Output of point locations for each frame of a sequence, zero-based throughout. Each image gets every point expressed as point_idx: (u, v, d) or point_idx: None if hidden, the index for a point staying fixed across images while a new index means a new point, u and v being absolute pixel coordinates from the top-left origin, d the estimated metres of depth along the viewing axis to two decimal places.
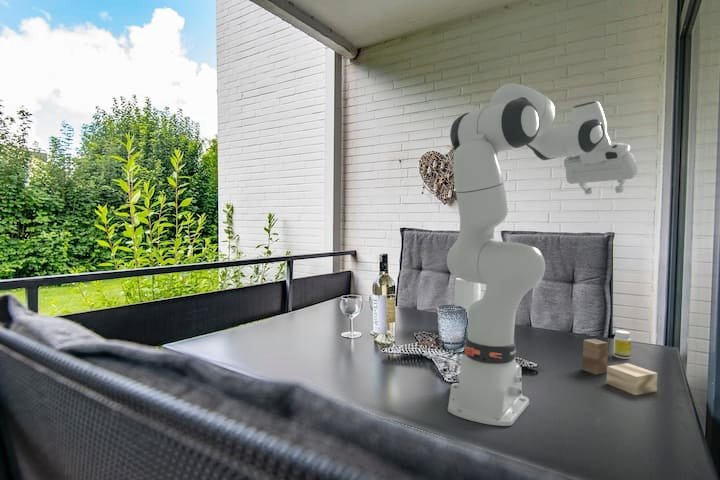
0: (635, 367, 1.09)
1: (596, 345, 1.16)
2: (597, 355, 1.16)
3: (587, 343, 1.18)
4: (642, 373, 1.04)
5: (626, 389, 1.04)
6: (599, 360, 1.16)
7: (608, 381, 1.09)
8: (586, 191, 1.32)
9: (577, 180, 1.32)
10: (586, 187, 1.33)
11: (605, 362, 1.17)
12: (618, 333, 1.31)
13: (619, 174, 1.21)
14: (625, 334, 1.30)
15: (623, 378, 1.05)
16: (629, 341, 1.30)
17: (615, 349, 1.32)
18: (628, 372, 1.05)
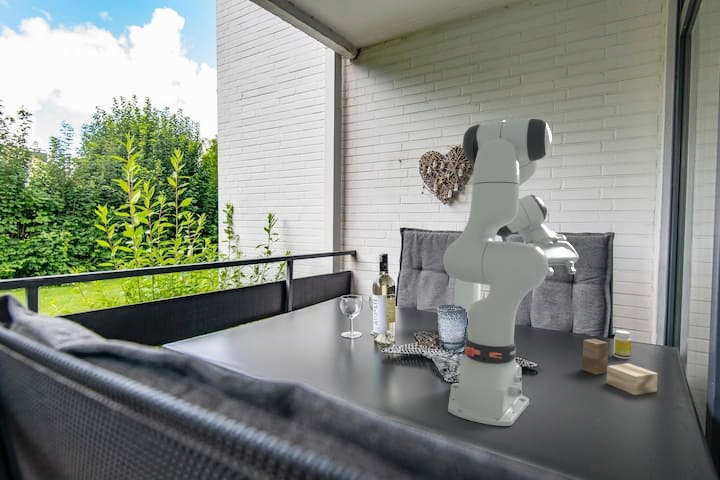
0: (635, 367, 1.09)
1: (596, 345, 1.16)
2: (597, 355, 1.16)
3: (587, 343, 1.18)
4: (642, 373, 1.04)
5: (625, 389, 1.04)
6: (599, 360, 1.16)
7: (608, 381, 1.09)
8: (550, 269, 1.27)
9: None
10: None
11: (605, 362, 1.17)
12: (618, 333, 1.31)
13: (569, 254, 1.34)
14: (625, 334, 1.30)
15: (623, 378, 1.05)
16: (629, 341, 1.30)
17: (615, 349, 1.32)
18: (628, 372, 1.05)
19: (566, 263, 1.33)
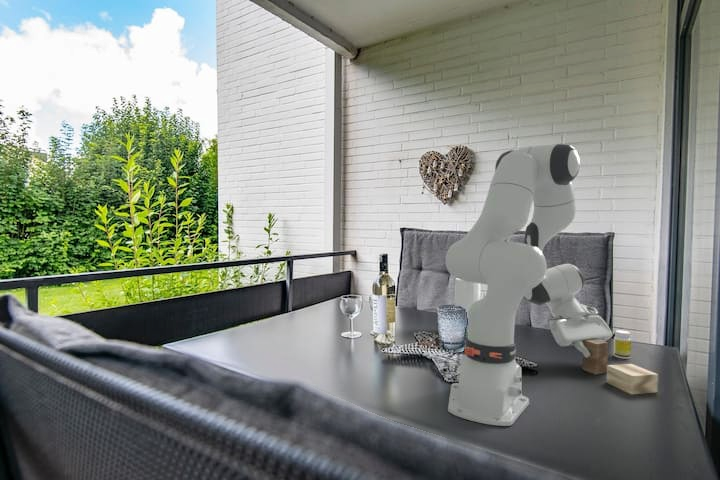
0: (637, 367, 1.08)
1: (596, 345, 1.16)
2: (597, 355, 1.16)
3: (587, 343, 1.18)
4: (641, 374, 1.04)
5: (623, 388, 1.05)
6: (599, 360, 1.16)
7: (607, 380, 1.10)
8: (588, 351, 1.17)
9: (573, 336, 1.18)
10: None
11: (605, 362, 1.17)
12: (618, 333, 1.31)
13: (602, 331, 1.23)
14: (625, 334, 1.30)
15: (621, 377, 1.05)
16: (629, 341, 1.30)
17: (615, 349, 1.32)
18: (626, 371, 1.05)
19: None
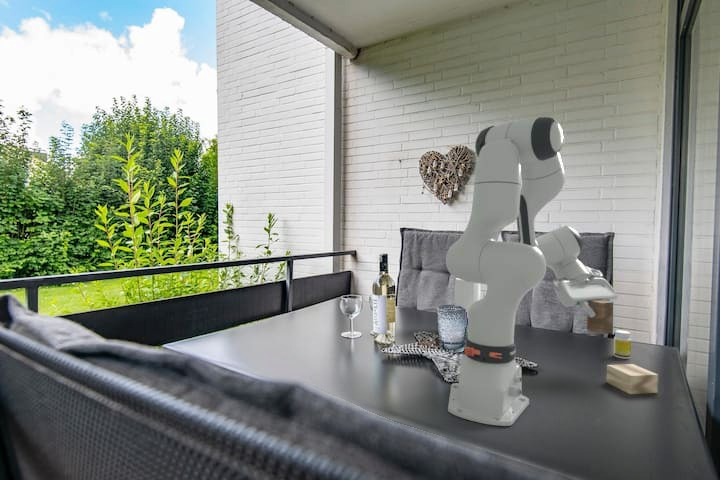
0: (637, 368, 1.08)
1: (601, 304, 1.14)
2: (602, 314, 1.14)
3: (592, 303, 1.17)
4: (640, 374, 1.04)
5: (622, 388, 1.05)
6: (605, 320, 1.14)
7: (607, 380, 1.10)
8: (594, 310, 1.15)
9: (577, 296, 1.16)
10: None
11: (610, 322, 1.15)
12: (618, 333, 1.31)
13: (607, 292, 1.21)
14: (625, 334, 1.30)
15: (620, 377, 1.06)
16: (630, 341, 1.30)
17: (615, 349, 1.32)
18: (625, 371, 1.05)
19: None
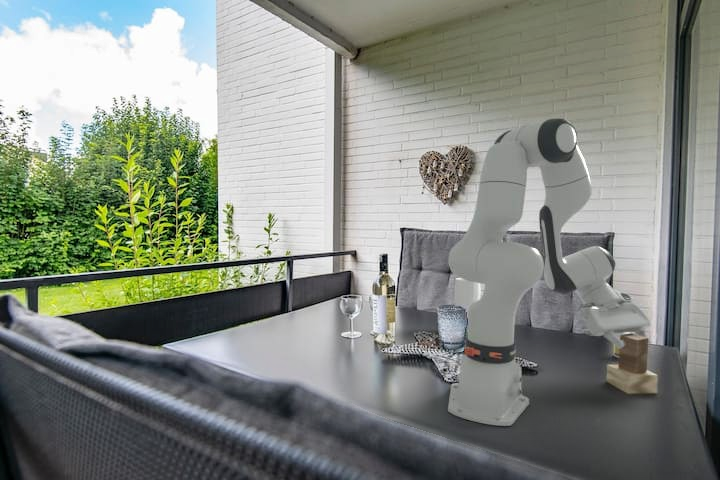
0: None
1: (636, 341, 1.04)
2: (636, 352, 1.04)
3: (625, 339, 1.06)
4: (639, 374, 1.04)
5: (621, 387, 1.05)
6: (639, 358, 1.04)
7: (607, 380, 1.10)
8: (621, 341, 1.04)
9: (608, 324, 1.06)
10: None
11: (645, 360, 1.05)
12: None
13: (639, 319, 1.11)
14: None
15: (619, 377, 1.06)
16: None
17: (615, 349, 1.32)
18: (624, 371, 1.05)
19: (636, 330, 1.11)
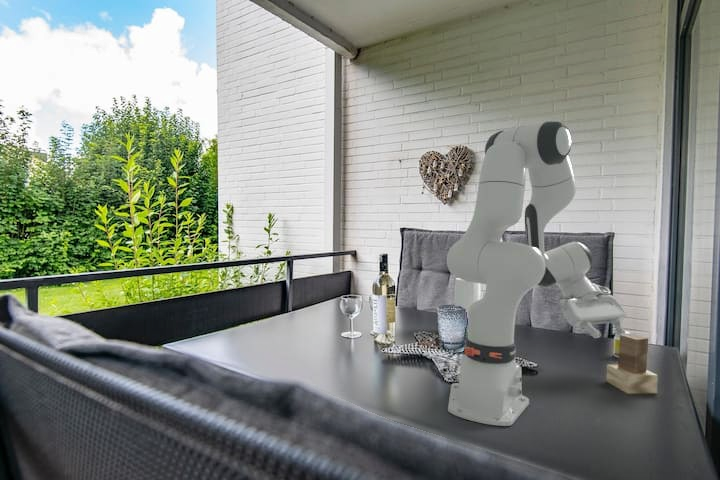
0: None
1: (635, 341, 1.04)
2: (636, 352, 1.04)
3: (624, 338, 1.06)
4: (639, 374, 1.04)
5: (620, 387, 1.05)
6: (639, 358, 1.04)
7: (607, 380, 1.10)
8: (597, 331, 1.11)
9: (585, 315, 1.13)
10: None
11: (645, 360, 1.05)
12: None
13: (616, 311, 1.18)
14: None
15: (619, 377, 1.06)
16: None
17: (615, 349, 1.32)
18: (624, 371, 1.06)
19: (612, 321, 1.17)
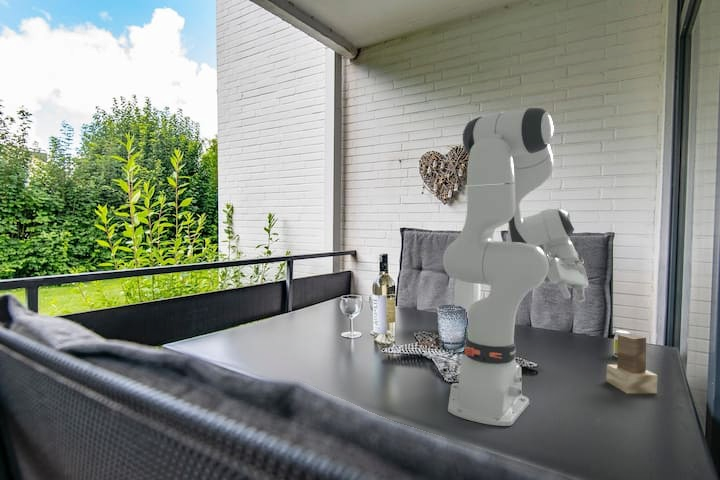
0: None
1: (633, 340, 1.04)
2: (634, 351, 1.04)
3: (622, 338, 1.07)
4: (639, 374, 1.04)
5: (620, 387, 1.05)
6: (637, 357, 1.04)
7: (607, 380, 1.10)
8: (569, 293, 1.19)
9: (564, 276, 1.19)
10: None
11: (643, 359, 1.05)
12: (618, 333, 1.31)
13: (583, 280, 1.27)
14: None
15: (618, 377, 1.06)
16: None
17: (615, 349, 1.32)
18: (624, 371, 1.06)
19: (576, 288, 1.27)
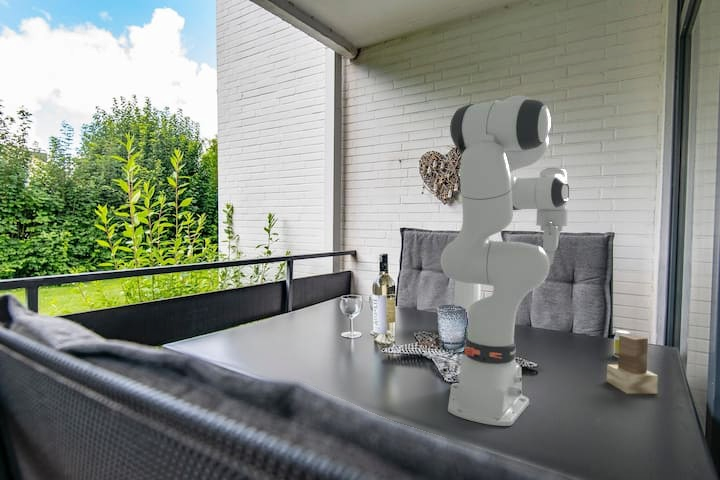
0: None
1: (634, 341, 1.04)
2: (635, 352, 1.04)
3: (624, 339, 1.07)
4: (639, 374, 1.04)
5: (620, 387, 1.05)
6: (638, 358, 1.04)
7: (607, 380, 1.10)
8: (553, 261, 1.22)
9: None
10: None
11: (645, 360, 1.05)
12: (618, 333, 1.31)
13: (557, 242, 1.32)
14: (625, 334, 1.30)
15: (618, 377, 1.06)
16: None
17: (615, 349, 1.32)
18: (624, 371, 1.06)
19: None
